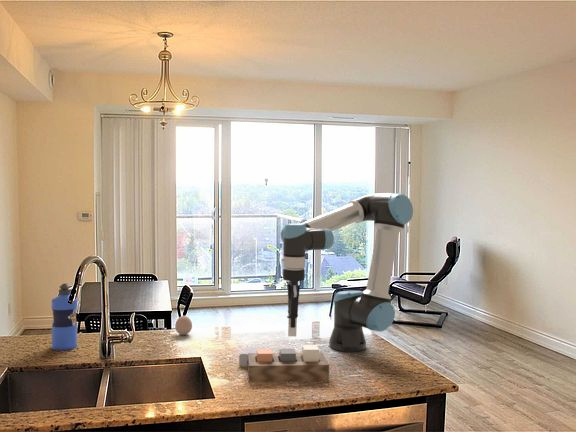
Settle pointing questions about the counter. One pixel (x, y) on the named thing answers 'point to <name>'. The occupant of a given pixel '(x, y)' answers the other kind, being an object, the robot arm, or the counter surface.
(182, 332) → the egg
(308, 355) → the key ivory
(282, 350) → the key graphite
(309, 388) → the counter surface
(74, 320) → the water bottle
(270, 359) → the key terracotta
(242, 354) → the charger
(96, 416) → the counter surface
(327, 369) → the console
